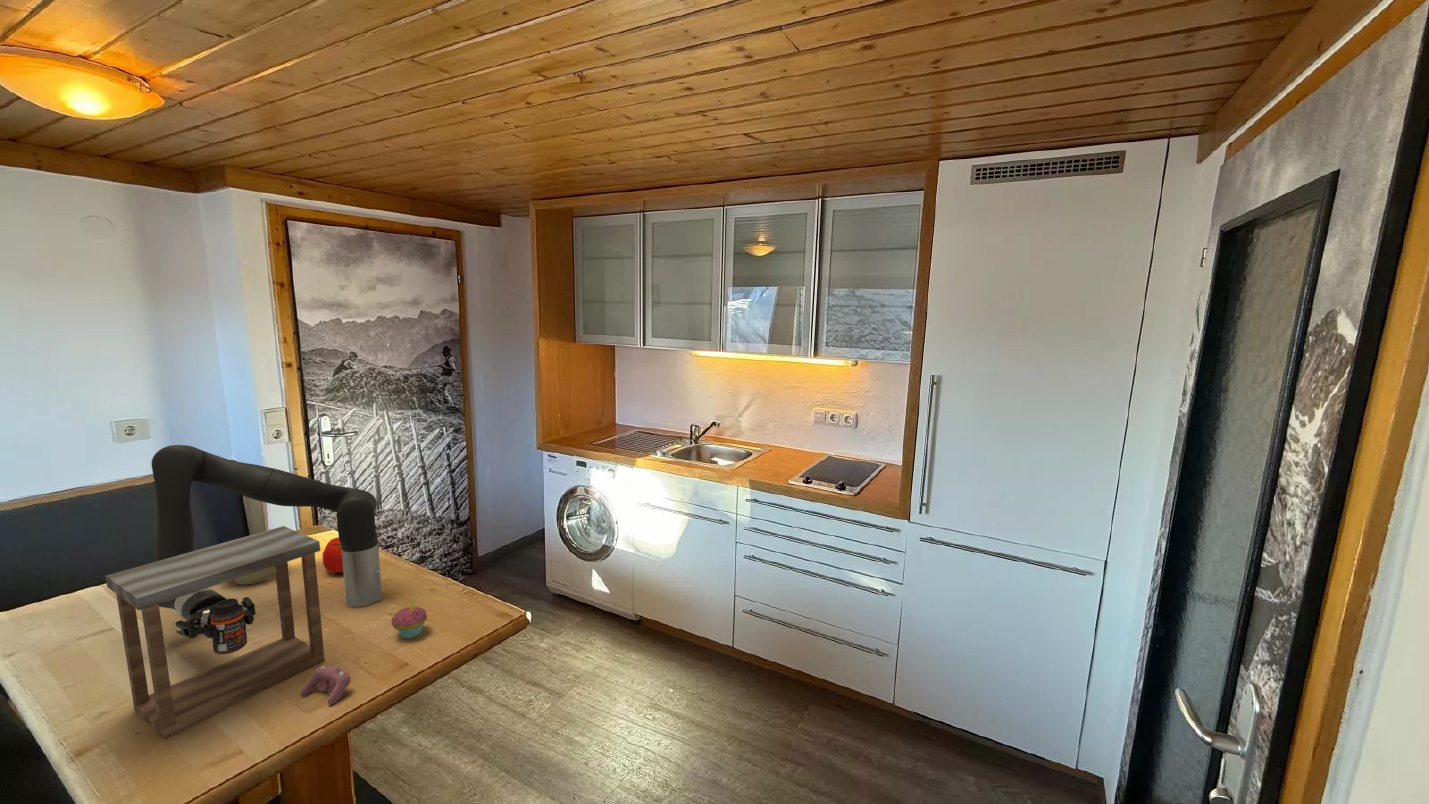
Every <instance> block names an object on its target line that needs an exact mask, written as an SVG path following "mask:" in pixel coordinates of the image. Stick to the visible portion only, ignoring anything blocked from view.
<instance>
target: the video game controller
mask: <svg viewBox="0 0 1429 804" xmlns="http://www.w3.org/2000/svg"><path fill="white" fill-rule="evenodd" d="M351 679H352V677H351V674H350V673H349V672H348V671H345V669H344V668H342V667H341V666H338V665H333V664H330V665H327V664H326V665H321V666H320V667H319V666H318V667H317V669H315V670H314V671H313V672H312V673H311V675H310V677H309V678H308V679H307V681H306V682H304V684H303V686H302V687H301V690H300V696H301V697H306V696H307V695H309V694H311V693H312V691H314V689H315V688H316V687H317V686H318V691H320V692H326V691H328V694H329V697H328V699H327V705H329V706H333V705H334V704H336V703H337V702H338V701H339V699H341V698H342V696H343V694H344V693H345V691H346V689H347V688H348V686H349V685H350V683H351Z"/></svg>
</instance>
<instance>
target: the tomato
mask: <svg viewBox="0 0 1429 804" xmlns="http://www.w3.org/2000/svg"><path fill="white" fill-rule="evenodd" d="M322 564H323V567H324V569H326V570H327V571H328V572H329V573H334V574H339V573H340V574H341V573H343V561H342V550H341V543H340V541H339V537H334V538H332V539H330V540H329V541H328V542H327V544H326V545H325V547H324V550H323V552H322Z"/></svg>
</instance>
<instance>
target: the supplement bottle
mask: <svg viewBox="0 0 1429 804" xmlns="http://www.w3.org/2000/svg"><path fill="white" fill-rule="evenodd" d="M238 603H239V600H238V599H237V598H226V599H225V600H222V601H219V602H218V603H216V604H215V612H214V613H213V614H212V615H211V617H210V622H211V625H212V626H213V627H215V628H216V629H217V636H218V637H217V638H214V639H212V638H211V639H212V640H211V641H212V649H213V652H214V654H215V655H216V654H217V655H228V654H234V653H235V652H238V651H240V650H241V649H243V648H244V647H245V646H246V645H247V643H248V634H247V627H246V625H247V624H246V623H245V614H244V609H243V608H242V607H240V606H238Z"/></svg>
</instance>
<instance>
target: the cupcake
mask: <svg viewBox="0 0 1429 804" xmlns="http://www.w3.org/2000/svg"><path fill="white" fill-rule="evenodd" d="M414 602H415V597H414V595H412V596H411V597H410V606H408V607H404V608H402V609H400V610H399V611H397V612H395V614H394V615H393V617H392V618H391V621H390V623H391V626H392V628H394V629H395V630H397V631H398V633H399V635H400V636H401V638H403V639H412V638H411V637H413V638H415V637H414V636H416V637H418V636H419V635H420V634H421V632H422V628H423V626H424V624H425V622H426V620H428V614H427V611H426V609H424V608H423V607H419V606H414V604H415V603H414ZM417 635H418V636H417Z"/></svg>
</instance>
